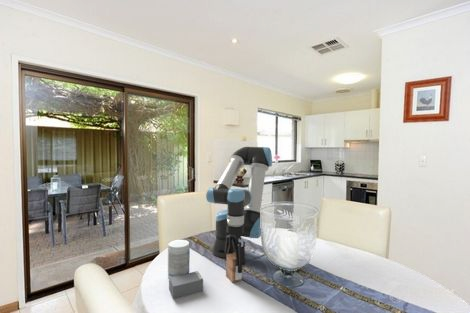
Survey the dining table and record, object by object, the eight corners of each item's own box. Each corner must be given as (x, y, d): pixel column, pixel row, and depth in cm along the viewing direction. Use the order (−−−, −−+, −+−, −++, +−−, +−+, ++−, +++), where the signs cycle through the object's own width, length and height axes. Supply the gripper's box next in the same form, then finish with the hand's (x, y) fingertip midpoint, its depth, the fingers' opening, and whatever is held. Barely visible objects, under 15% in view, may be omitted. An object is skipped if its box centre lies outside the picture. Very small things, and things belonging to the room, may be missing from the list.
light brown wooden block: (235, 273, 110) (236, 252, 109) (242, 280, 104) (242, 257, 104) (226, 275, 107) (226, 254, 107) (231, 282, 102) (232, 259, 102)
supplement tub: (192, 277, 106) (193, 244, 105) (171, 283, 100) (172, 249, 100) (184, 268, 114) (185, 237, 113) (164, 273, 108) (165, 241, 108)
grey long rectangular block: (197, 282, 102) (197, 270, 101) (202, 291, 95) (203, 278, 95) (169, 289, 96) (169, 276, 96) (172, 299, 90) (173, 285, 90)
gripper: (218, 218, 113) (217, 265, 113) (239, 232, 94) (237, 288, 95) (232, 217, 116) (231, 262, 117) (254, 230, 98) (253, 284, 98)
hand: (233, 274), depth 106 cm, fingers open, 8 cm apart
